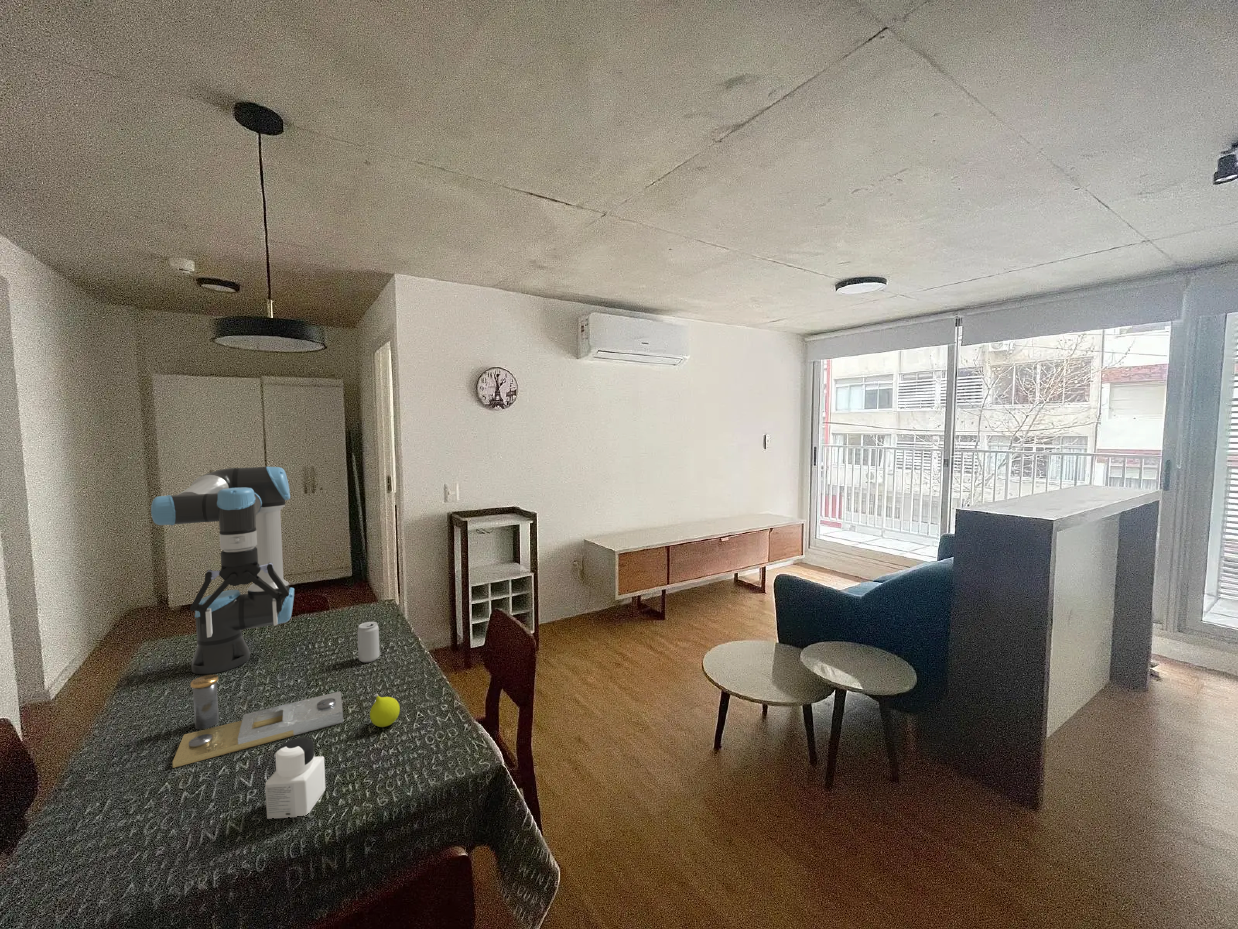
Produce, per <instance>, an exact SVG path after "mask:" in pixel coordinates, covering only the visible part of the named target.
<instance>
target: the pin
mask: <svg viewBox="0 0 1238 929" xmlns="http://www.w3.org/2000/svg"><path fill="white" fill-rule="evenodd" d="M218 681H219V675H217V674H205V675H203V676H200V677H197V678H195V679H193V680H192V681H190V684H189V685H190V688H191V689H192V694H193V695H192V696H193V713H194V715H193V716H194V728H195V729H196V730H205V729H209V728H213V727H215V725H216V724H218V723H219V722H220V719H219V718H220V717H219V716H220V715H219V714H220V713H219V702H218V701H219V698H218V685H217V682H218Z"/></svg>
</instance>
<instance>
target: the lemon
mask: <svg viewBox="0 0 1238 929" xmlns="http://www.w3.org/2000/svg"><path fill="white" fill-rule="evenodd" d="M374 696H375V702H374V703H373V705H372V706H371V708H370V711H369V718H370V721H371V723H372V724H373V725H374V726H377V727H379V728H385V727H388V726H390V725H392V724H393V723H394V722H395V721H396V720H397V719H398V717H399V715H400V710H401V709H400V708H401V707H400V703H399V702H398V701H397V699H396V698H394V697H391V696H383V697H382V696H379V694H378V693H375V694H374Z"/></svg>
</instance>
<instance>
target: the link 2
mask: <svg viewBox="0 0 1238 929" xmlns="http://www.w3.org/2000/svg"><path fill="white" fill-rule="evenodd" d="M342 701H343V700H342V692H341V690H340V691H335V692H331V693H327V694H324V695H323V694H322V695H319V696H315V697H311V698H307V699H301V700H299V701H298V700H297V701H295V702H290V703H285V704H281V705H277V706H273V707H269V708H265V709H259V710H256V711H252V712H249V713H244V714H243V716H242V719H241V721H242V723H241V727H240V731H239V736H238V744H242V743H246V742H250V741H253V740H257V739H261V738H265V737H269V736H272V735H276V734H280V733H284V732H288V731H291V730H293V731H294V736H298V735H301V734H305V733H308V732H311V731H316V730H320V729H323V728H327V727H331V726H335V725H338V724H342V723H344V712H343V710H344V709H343V702H342ZM282 715H283V720H282V721H280V722H276V723H272V724H268V725H264V726H260V727H256V728H254V729H253V726H254V722H258V721H262V720H266V719H270V718H274V717H278V716H282Z"/></svg>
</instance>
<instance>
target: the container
mask: <svg viewBox="0 0 1238 929" xmlns="http://www.w3.org/2000/svg"><path fill="white" fill-rule="evenodd" d="M314 753H315V750H314V740H313V739H311V738H309V737H307V736H306V737H296V738H293V739H290V740H288V741H286V742H283V743H282V744H281V745H280V746H279V747H278V748H277V749H276V751H275V754H274V755H275V767H276V768H275V771H274V772H273V773H272V775H271V776H270V777H269V778H268V779H267V780H266V782H265V801H266V802H265V804H266V818H267V819H268V820H271V819H272V818H274V819H284V818H286V819H287V818H288V817H290V818H298V817H297V816H303V815H304V816H305V815H307V814H308V813H309V814H310V812H311V811H312V809H313V808H314V807H315V806H316V804H317V802H319V799H320V798H321V797H322V795H323V794H324V792H325V791H326V771H325V770H326V769H325V757H324V756H323V755H321V756H315V754H314ZM309 814H308V815H309ZM308 815H307V816H308ZM305 817H306V816H305Z"/></svg>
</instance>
